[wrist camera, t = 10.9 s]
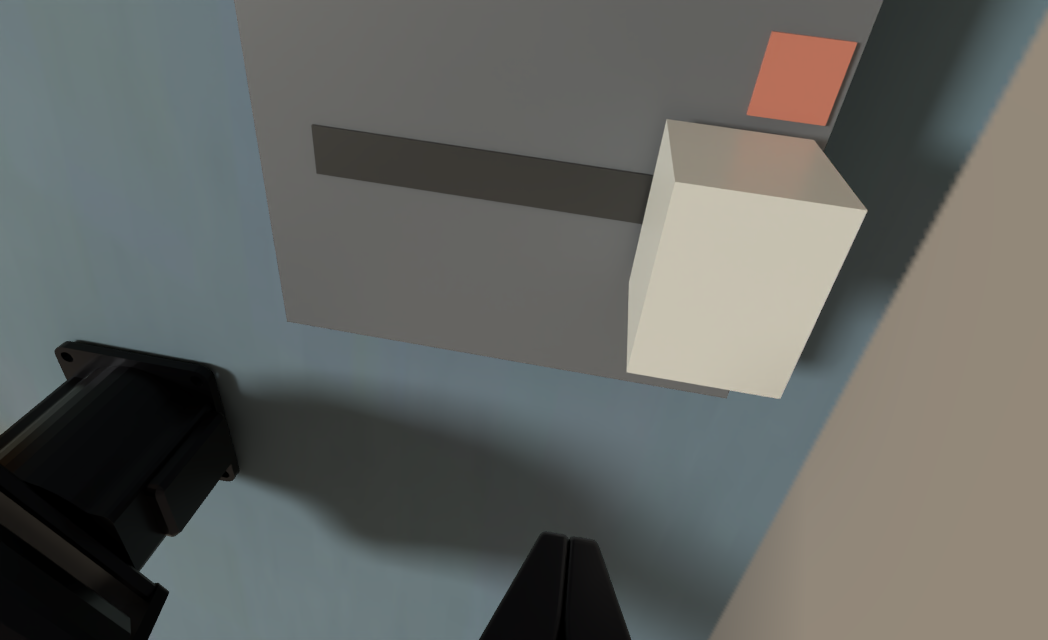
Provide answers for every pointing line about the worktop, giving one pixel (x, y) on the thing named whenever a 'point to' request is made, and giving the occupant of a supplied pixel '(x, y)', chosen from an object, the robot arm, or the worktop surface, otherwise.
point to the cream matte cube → (735, 257)
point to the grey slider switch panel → (508, 152)
